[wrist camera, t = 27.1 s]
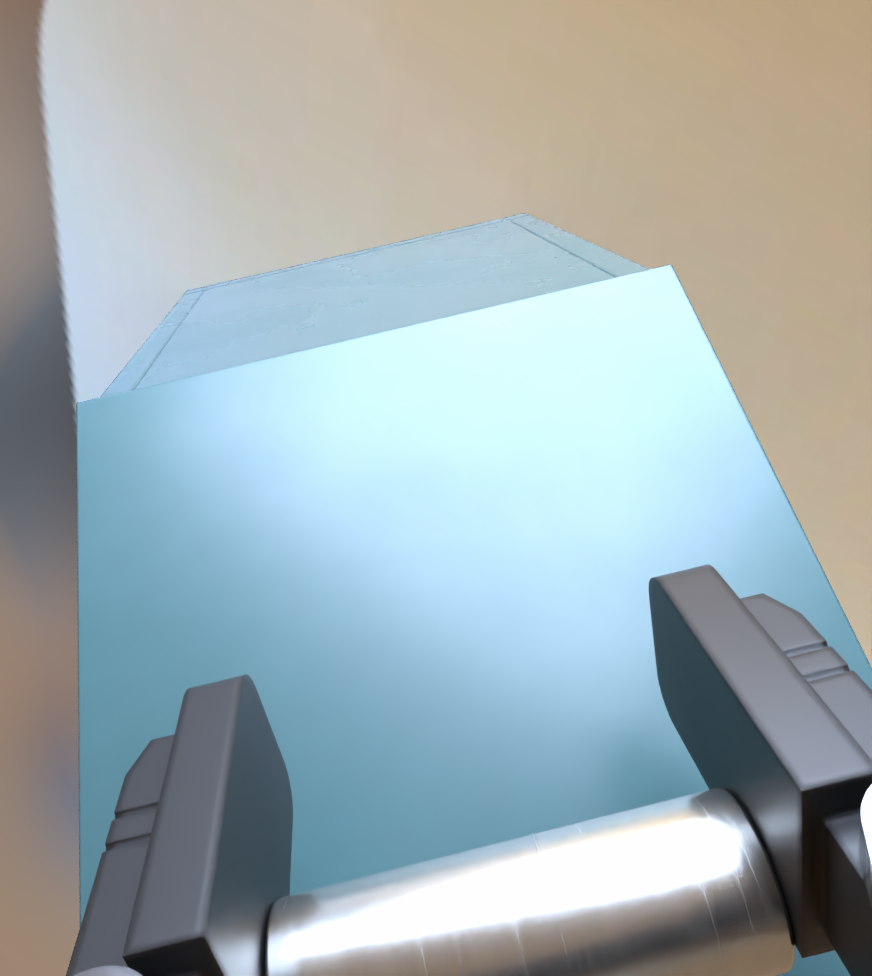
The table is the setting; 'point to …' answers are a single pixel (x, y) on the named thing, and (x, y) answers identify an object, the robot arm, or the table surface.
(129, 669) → the lid
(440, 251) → the bread bin
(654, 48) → the table surface
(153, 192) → the table surface
